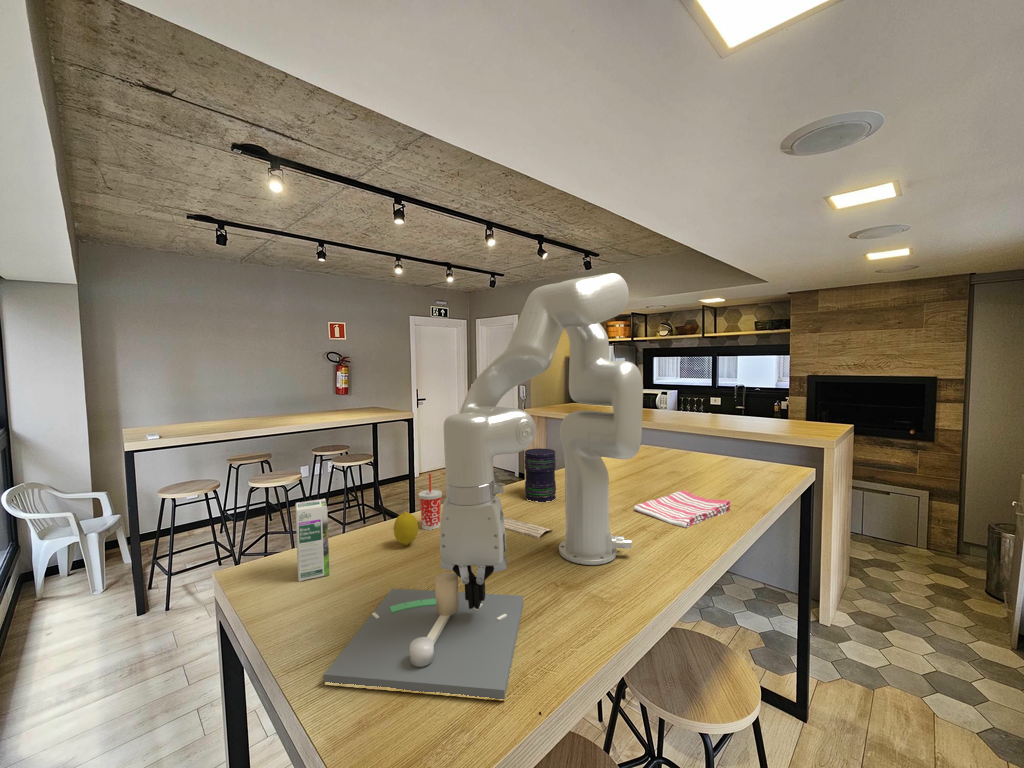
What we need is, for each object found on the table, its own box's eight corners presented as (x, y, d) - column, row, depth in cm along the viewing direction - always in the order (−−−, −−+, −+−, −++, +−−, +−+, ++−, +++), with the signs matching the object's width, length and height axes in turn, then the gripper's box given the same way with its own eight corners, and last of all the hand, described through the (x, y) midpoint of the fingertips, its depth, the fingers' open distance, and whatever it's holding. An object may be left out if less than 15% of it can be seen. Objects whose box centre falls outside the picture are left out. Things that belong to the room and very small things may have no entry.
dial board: (523, 604, 75) (523, 594, 75) (504, 701, 53) (504, 688, 53) (392, 596, 78) (392, 587, 78) (324, 685, 56) (323, 672, 56)
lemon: (412, 551, 97) (411, 516, 97) (389, 549, 98) (389, 515, 98) (422, 541, 103) (421, 508, 102) (400, 539, 104) (400, 507, 103)
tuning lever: (430, 668, 57) (429, 623, 56) (404, 665, 57) (403, 620, 57) (463, 605, 71) (462, 569, 71) (443, 603, 72) (442, 568, 72)
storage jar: (526, 493, 141) (526, 448, 140) (556, 494, 140) (556, 448, 139) (523, 502, 131) (522, 454, 131) (555, 503, 130) (555, 454, 129)
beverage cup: (421, 532, 108) (420, 478, 108) (416, 524, 114) (415, 472, 113) (445, 528, 111) (444, 475, 110) (439, 521, 116) (438, 470, 116)
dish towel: (733, 511, 122) (733, 499, 121) (685, 531, 108) (685, 517, 108) (679, 497, 135) (679, 486, 135) (631, 513, 122) (631, 501, 122)
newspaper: (469, 521, 118) (469, 514, 118) (486, 514, 123) (486, 508, 123) (539, 542, 103) (539, 534, 103) (555, 533, 109) (555, 526, 109)
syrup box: (298, 582, 84) (295, 509, 83) (297, 570, 89) (295, 501, 88) (329, 575, 86) (327, 504, 86) (327, 564, 91) (325, 497, 91)
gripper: (520, 484, 70) (524, 592, 71) (432, 484, 72) (437, 589, 73) (514, 500, 63) (519, 620, 64) (416, 499, 65) (423, 616, 66)
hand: (475, 603), depth 69 cm, fingers closed
